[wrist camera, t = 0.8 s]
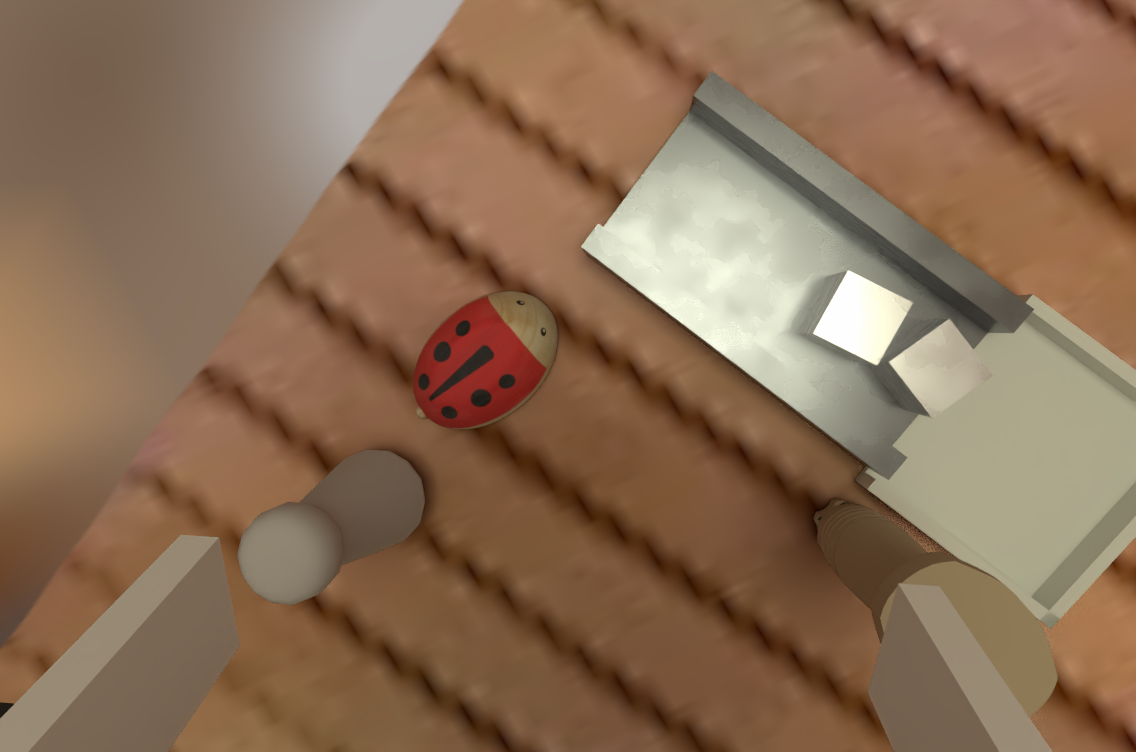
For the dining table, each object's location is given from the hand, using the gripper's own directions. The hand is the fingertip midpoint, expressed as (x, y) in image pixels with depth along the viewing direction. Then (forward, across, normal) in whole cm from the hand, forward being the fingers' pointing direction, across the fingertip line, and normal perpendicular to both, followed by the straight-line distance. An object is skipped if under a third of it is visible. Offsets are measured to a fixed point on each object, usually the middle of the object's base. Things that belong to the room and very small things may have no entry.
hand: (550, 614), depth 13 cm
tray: (+24, -24, +8) cm, 35 cm away
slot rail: (+27, -11, 0) cm, 29 cm away
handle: (+23, -15, +13) cm, 30 cm away
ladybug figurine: (+27, +6, +5) cm, 28 cm away
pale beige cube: (+26, -14, +1) cm, 29 cm away
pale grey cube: (+24, -18, +3) cm, 30 cm away
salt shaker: (+24, +11, +13) cm, 30 cm away
